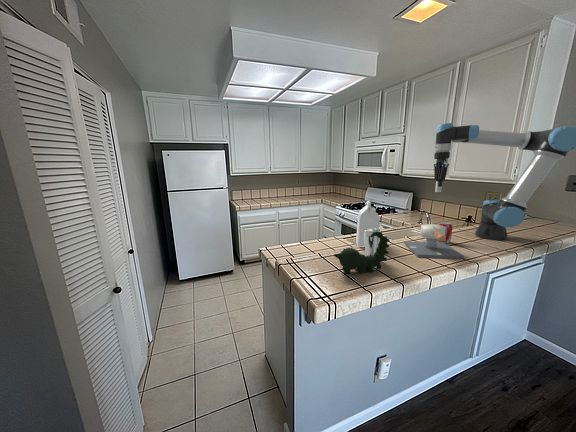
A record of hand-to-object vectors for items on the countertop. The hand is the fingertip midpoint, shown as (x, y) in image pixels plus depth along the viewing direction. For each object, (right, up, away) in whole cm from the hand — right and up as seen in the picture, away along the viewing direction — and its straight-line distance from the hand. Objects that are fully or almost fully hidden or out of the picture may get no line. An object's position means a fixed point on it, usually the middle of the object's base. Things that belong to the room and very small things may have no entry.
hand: (438, 191), depth 137 cm
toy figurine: (-59, -40, -35) cm, 79 cm away
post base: (-14, -33, -14) cm, 39 cm away
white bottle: (-16, -26, -21) cm, 37 cm away
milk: (-44, -32, -1) cm, 54 cm away
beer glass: (-49, -36, -22) cm, 65 cm away
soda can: (+2, -31, -2) cm, 31 cm away
